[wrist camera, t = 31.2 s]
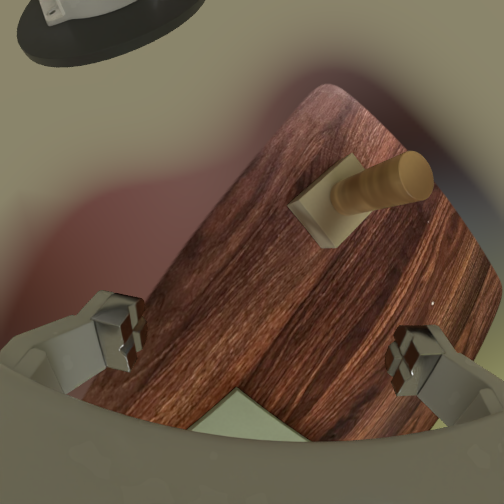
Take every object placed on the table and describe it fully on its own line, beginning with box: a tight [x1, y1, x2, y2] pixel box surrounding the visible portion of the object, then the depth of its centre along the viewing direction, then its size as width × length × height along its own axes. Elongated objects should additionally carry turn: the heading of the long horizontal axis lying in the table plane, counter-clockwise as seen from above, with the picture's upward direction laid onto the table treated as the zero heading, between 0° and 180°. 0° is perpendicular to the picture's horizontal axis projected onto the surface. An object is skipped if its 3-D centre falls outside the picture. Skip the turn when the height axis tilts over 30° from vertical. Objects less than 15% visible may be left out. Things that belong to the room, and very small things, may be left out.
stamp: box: [287, 151, 434, 248], centre depth 20 cm, size 5×7×12 cm
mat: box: [187, 387, 311, 442], centre depth 24 cm, size 20×18×1 cm
